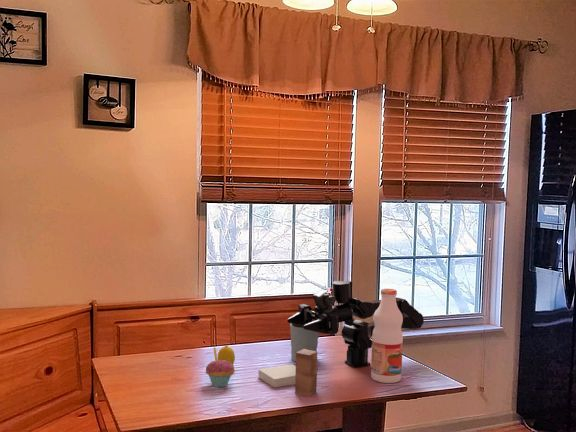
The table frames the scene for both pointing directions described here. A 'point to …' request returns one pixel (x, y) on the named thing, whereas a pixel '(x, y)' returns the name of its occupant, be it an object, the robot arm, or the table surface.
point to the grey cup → (302, 339)
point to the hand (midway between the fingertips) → (295, 324)
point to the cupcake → (219, 371)
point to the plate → (278, 375)
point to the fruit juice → (387, 340)
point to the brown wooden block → (306, 372)
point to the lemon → (226, 354)
